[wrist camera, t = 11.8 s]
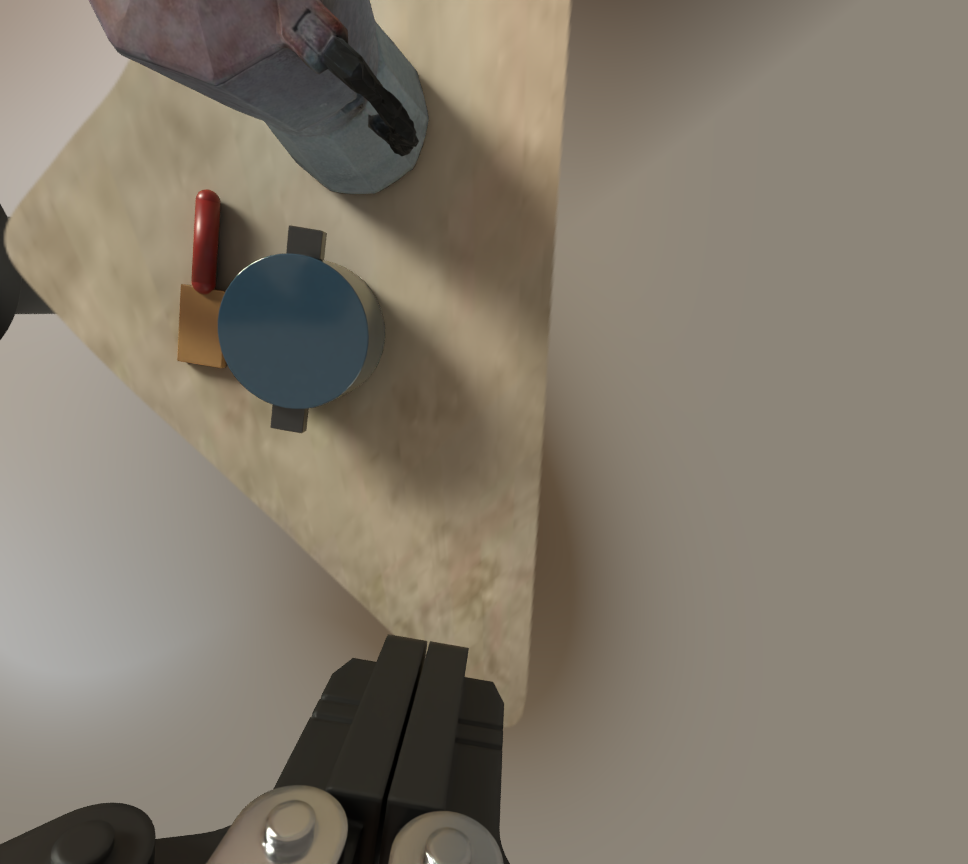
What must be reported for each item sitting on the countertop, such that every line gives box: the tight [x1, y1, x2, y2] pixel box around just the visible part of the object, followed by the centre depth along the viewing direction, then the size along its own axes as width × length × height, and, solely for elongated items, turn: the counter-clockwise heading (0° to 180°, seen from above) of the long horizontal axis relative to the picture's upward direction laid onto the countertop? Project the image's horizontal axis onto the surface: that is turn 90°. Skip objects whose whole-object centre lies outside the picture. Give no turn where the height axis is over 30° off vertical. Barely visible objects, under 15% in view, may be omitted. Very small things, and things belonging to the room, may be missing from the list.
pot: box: [218, 226, 385, 433], centre depth 36 cm, size 9×12×4 cm
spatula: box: [177, 190, 226, 368], centre depth 37 cm, size 11×3×1 cm, turn 171°
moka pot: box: [89, 0, 429, 194], centre depth 26 cm, size 10×15×20 cm, turn 52°
